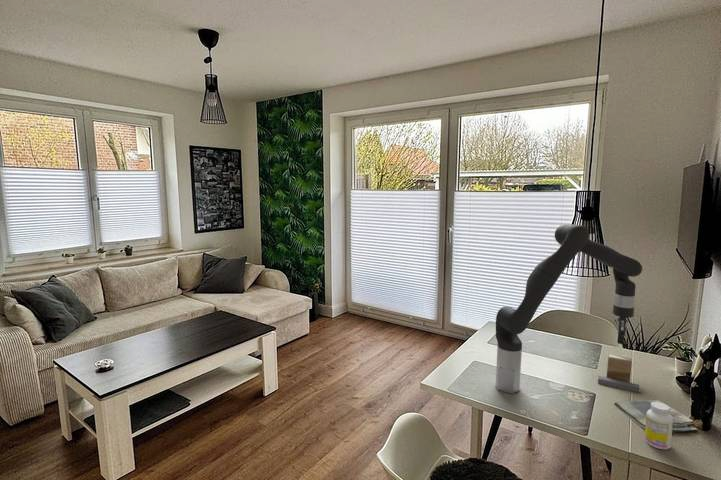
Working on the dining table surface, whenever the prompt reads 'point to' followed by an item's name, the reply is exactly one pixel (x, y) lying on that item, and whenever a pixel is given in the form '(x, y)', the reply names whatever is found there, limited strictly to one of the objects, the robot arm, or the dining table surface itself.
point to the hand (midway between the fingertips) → (620, 343)
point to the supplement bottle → (659, 426)
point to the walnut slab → (619, 367)
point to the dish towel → (640, 408)
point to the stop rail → (618, 384)
